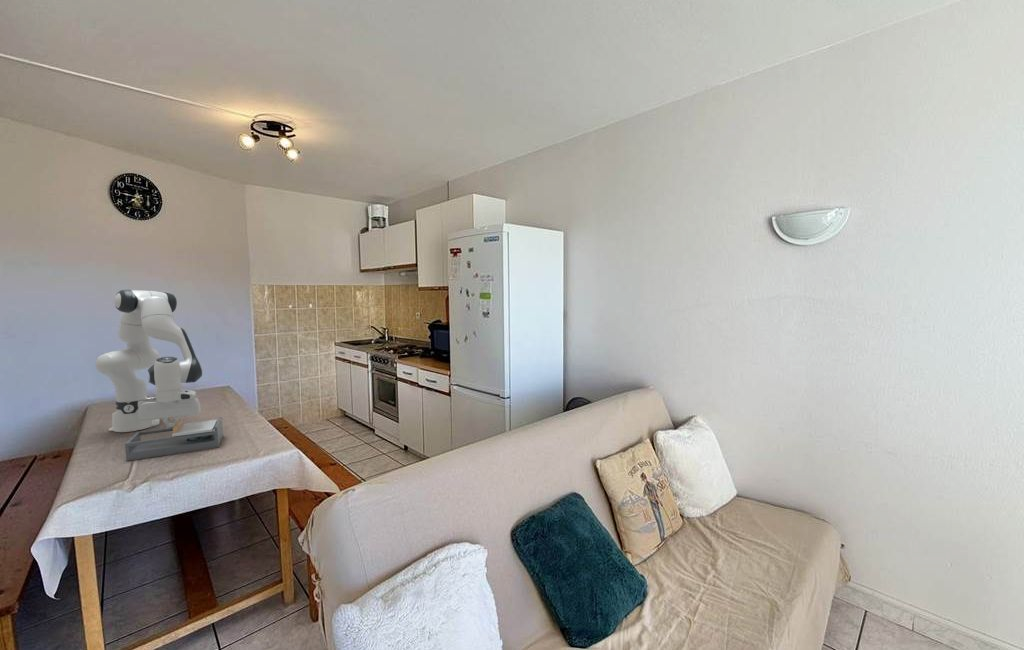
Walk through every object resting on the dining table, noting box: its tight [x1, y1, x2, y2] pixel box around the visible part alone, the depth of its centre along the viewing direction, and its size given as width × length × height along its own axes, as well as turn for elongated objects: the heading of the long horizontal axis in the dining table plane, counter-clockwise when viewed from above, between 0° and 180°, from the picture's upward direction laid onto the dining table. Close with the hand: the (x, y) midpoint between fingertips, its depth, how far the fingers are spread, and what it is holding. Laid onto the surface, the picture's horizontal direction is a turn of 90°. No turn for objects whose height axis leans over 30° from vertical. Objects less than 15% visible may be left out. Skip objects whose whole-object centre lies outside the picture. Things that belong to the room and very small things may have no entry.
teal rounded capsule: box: [189, 433, 199, 441], centre depth 179 cm, size 4×4×6 cm
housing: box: [124, 417, 224, 462], centre depth 176 cm, size 15×30×9 cm, turn 119°
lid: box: [171, 418, 218, 437], centre depth 179 cm, size 15×14×3 cm
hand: (171, 427), depth 175 cm, fingers closed
